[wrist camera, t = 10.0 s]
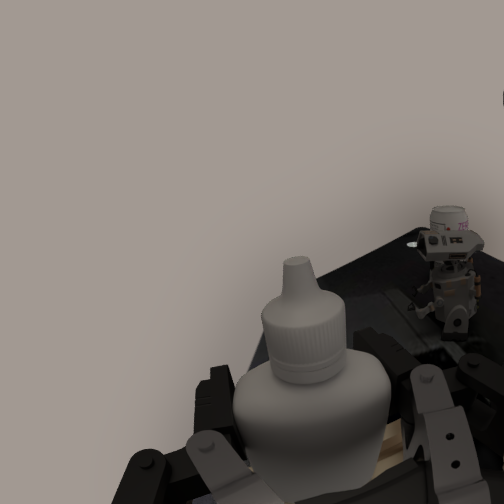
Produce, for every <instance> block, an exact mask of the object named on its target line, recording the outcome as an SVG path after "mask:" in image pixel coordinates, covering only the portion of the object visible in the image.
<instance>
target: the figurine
mask: <svg viewBox="0 0 504 504" xmlns="http://www.w3.org/2000/svg"><path fill="white" fill-rule="evenodd" d="M483 247H484V241H483V240H482V238H481V237H480V236H479V235H478V234H477V233H475V232H474V231H472V230H450V228H449V227H448V228H447V229H446V230H445V231H420V233H419V236H418V239H417V251H418V252H419V253H420V255H421V256H422V257H423V258H424V260H425V261H443V262H444V264H442V265H439V266H438V267H435V268H433V270H432V280H429V281H428V284H426V285H425V286H424V285H422V286H421V287H420V289H416V288H415V286H414V285H413V287H412V289H413V288H414V289H415V291H416V292H415V295H413V294H412V295H413V296H414V297H415V296H416V294H417V292H421V293H423V294H425V293H426V292H427V290H429V289H432V288H433V290H434V300H435V302H434V303H433V302H430V303H428V306H426V307H425V308H424V309H423V308H422V309H418V308H417V307H416V308H415V306H414V304H413V302H411V304H412V306H413V308H411V309H409V306H410V305H411V304H410V305H409V306H408V311H411V310H415V311H416V312H417V317H418V318H419V319H423V318H424V317H425V315H426V314H428V313H429V312H433V311H434V310H435V316H436V319H438V320H440V321H442V322H445V326H444V328H443V330H442V333H441V339H443V341H446V340H447V339H448V341H451V340H452V339H456V341H459V340H460V339H461V341H464V340H465V339H468V323H469V321H468V319H469V318H470V317H472V316H473V315H474V314H475V313H476V309H478V300H479V299H481V287H480V284H481V282H480V276H479V275H477V273H476V271H475V270H474V268H473V259H472V258H470V256H471V255H472V254H473V253H474V252H475V251H476V250H483ZM460 260H463V261H460ZM464 260H468V262H466V261H464ZM475 273H476V275H475Z"/></svg>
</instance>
